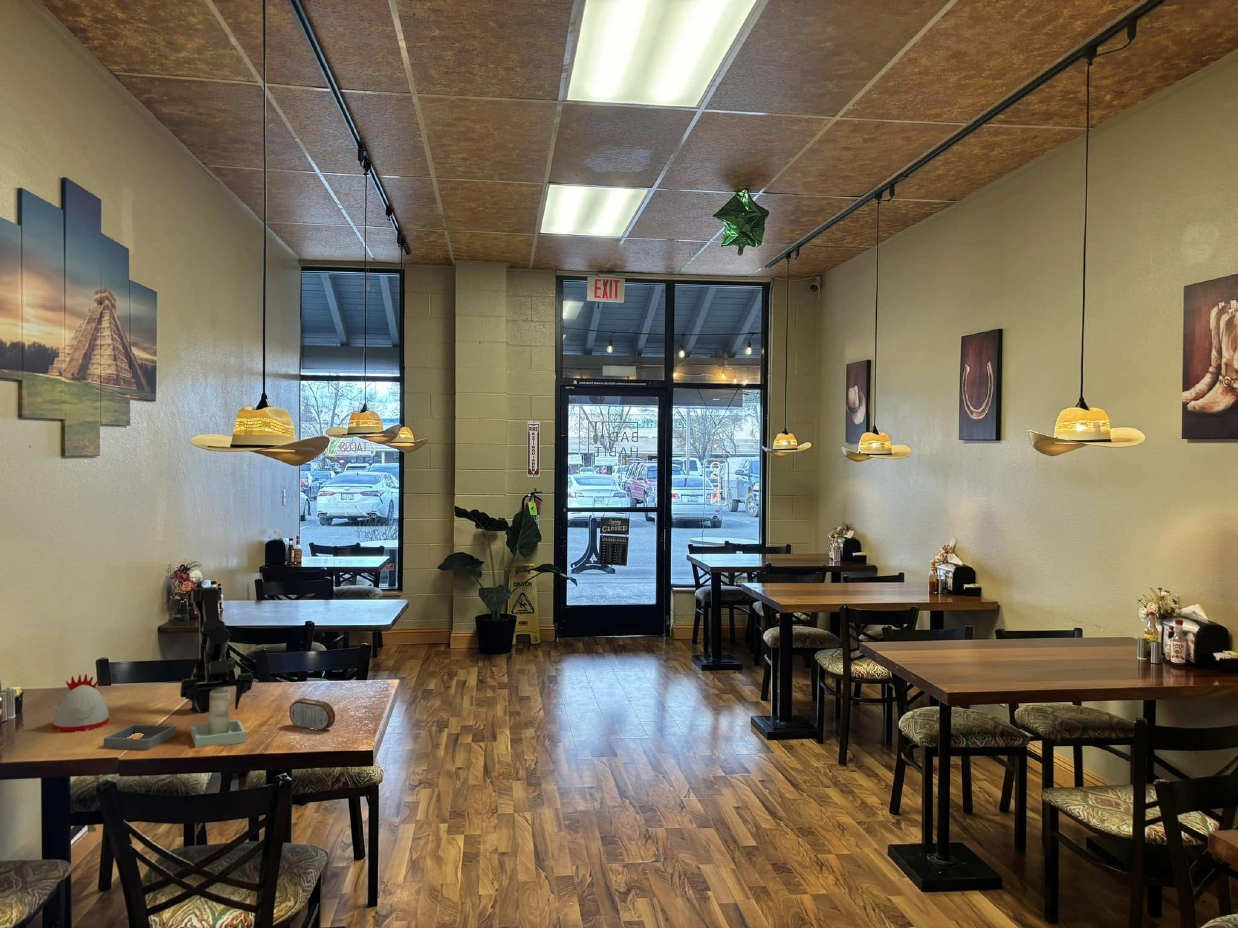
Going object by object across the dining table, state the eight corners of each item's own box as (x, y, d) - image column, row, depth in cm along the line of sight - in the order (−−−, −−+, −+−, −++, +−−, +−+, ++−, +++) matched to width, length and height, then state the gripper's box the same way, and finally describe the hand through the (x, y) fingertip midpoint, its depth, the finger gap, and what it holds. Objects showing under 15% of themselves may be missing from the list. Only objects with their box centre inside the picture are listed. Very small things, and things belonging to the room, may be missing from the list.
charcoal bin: (132, 734, 238) (133, 724, 238) (175, 736, 237) (176, 726, 237) (103, 749, 225) (103, 737, 225) (148, 751, 225) (149, 740, 225)
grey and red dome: (51, 722, 246) (53, 672, 247) (105, 715, 255) (107, 666, 255) (54, 735, 235) (56, 682, 236) (111, 727, 244) (113, 676, 244)
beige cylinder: (212, 734, 239) (214, 687, 239) (231, 734, 239) (232, 687, 239) (204, 740, 234) (206, 692, 234) (224, 740, 234) (226, 692, 234)
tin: (335, 730, 248) (336, 701, 248) (328, 733, 245) (329, 704, 245) (294, 723, 253) (295, 696, 253) (286, 726, 250) (287, 698, 250)
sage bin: (191, 735, 238) (191, 725, 238) (239, 729, 245) (239, 719, 245) (195, 748, 228) (196, 737, 228) (245, 742, 234) (246, 731, 234)
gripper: (182, 651, 236) (184, 699, 227) (253, 645, 246) (258, 692, 237) (179, 672, 243) (181, 720, 234) (248, 666, 253) (252, 712, 244)
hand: (218, 710), depth 237 cm, fingers open, 9 cm apart
